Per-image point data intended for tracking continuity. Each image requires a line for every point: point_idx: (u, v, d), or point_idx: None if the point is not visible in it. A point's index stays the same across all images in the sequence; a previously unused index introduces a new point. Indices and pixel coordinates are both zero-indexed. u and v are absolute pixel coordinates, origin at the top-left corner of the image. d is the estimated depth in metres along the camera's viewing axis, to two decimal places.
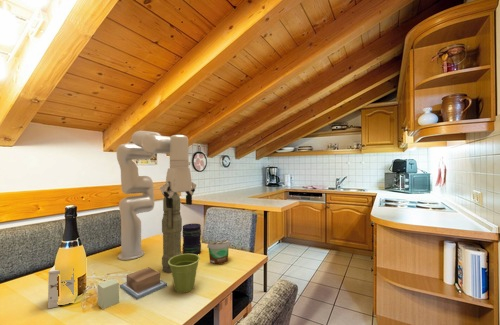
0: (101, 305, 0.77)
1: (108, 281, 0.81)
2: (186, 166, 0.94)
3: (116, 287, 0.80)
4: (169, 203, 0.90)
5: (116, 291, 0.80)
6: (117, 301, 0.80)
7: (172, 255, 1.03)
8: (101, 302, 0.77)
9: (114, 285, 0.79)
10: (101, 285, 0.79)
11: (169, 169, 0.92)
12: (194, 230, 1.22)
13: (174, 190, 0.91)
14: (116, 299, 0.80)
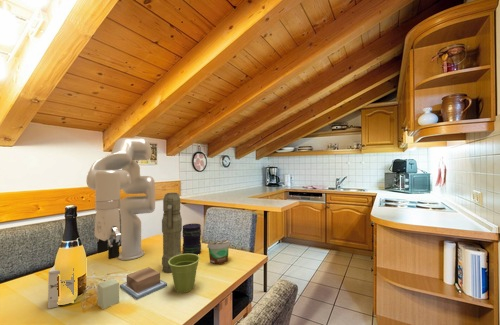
0: (101, 305, 0.77)
1: (108, 281, 0.81)
2: None
3: (116, 287, 0.80)
4: None
5: (116, 291, 0.80)
6: (117, 301, 0.80)
7: (172, 255, 1.03)
8: (101, 302, 0.77)
9: (114, 285, 0.79)
10: (101, 285, 0.79)
11: (112, 211, 0.77)
12: (194, 230, 1.22)
13: None
14: (116, 299, 0.80)
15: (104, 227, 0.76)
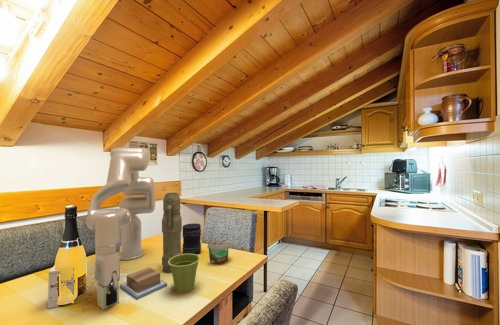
0: (101, 305, 0.77)
1: None
2: None
3: None
4: (115, 297, 0.79)
5: None
6: (117, 301, 0.80)
7: (172, 255, 1.03)
8: (101, 302, 0.77)
9: None
10: (101, 285, 0.79)
11: (112, 256, 0.77)
12: (194, 230, 1.22)
13: None
14: None
15: (104, 273, 0.76)
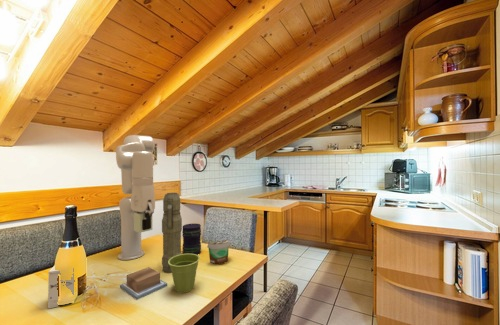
0: (138, 229, 0.89)
1: None
2: None
3: None
4: (149, 224, 0.90)
5: None
6: (151, 228, 0.91)
7: (172, 255, 1.03)
8: (138, 227, 0.89)
9: None
10: (137, 213, 0.90)
11: (147, 187, 0.88)
12: (194, 230, 1.22)
13: None
14: None
15: (141, 200, 0.87)
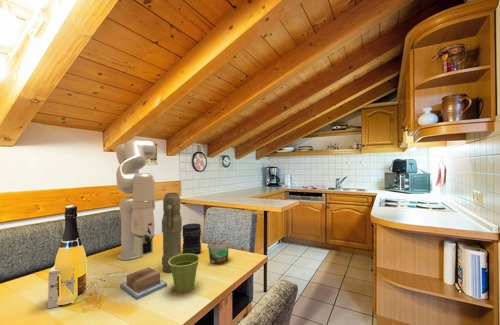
0: (138, 253, 0.88)
1: None
2: None
3: None
4: (150, 247, 0.89)
5: None
6: (151, 251, 0.91)
7: (172, 255, 1.03)
8: (138, 250, 0.88)
9: None
10: (138, 236, 0.89)
11: (148, 210, 0.88)
12: (194, 230, 1.22)
13: None
14: None
15: (142, 224, 0.87)
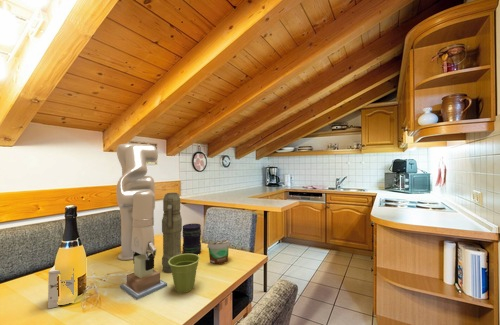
0: (138, 274, 0.88)
1: (143, 255, 0.92)
2: None
3: None
4: (152, 263, 0.88)
5: None
6: (151, 272, 0.91)
7: (172, 255, 1.03)
8: (138, 272, 0.88)
9: None
10: (138, 257, 0.89)
11: (148, 229, 0.88)
12: (194, 230, 1.22)
13: None
14: (150, 270, 0.91)
15: (142, 243, 0.87)
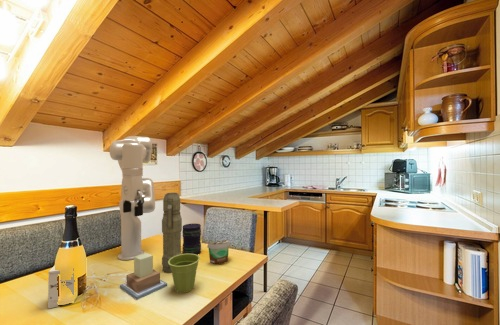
0: (138, 274, 0.88)
1: (143, 255, 0.92)
2: None
3: (151, 260, 0.91)
4: (141, 210, 0.93)
5: (150, 263, 0.91)
6: (151, 272, 0.91)
7: (172, 255, 1.03)
8: (138, 272, 0.88)
9: (149, 258, 0.90)
10: (138, 257, 0.89)
11: (137, 177, 0.92)
12: (194, 230, 1.22)
13: None
14: (150, 270, 0.91)
15: (131, 190, 0.91)
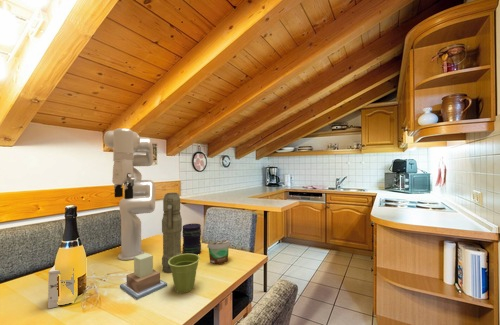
0: (138, 274, 0.88)
1: (143, 255, 0.92)
2: None
3: (151, 260, 0.91)
4: (131, 194, 0.95)
5: (150, 263, 0.91)
6: (151, 272, 0.91)
7: (172, 255, 1.03)
8: (138, 272, 0.88)
9: (149, 258, 0.90)
10: (138, 257, 0.89)
11: (127, 161, 0.95)
12: (194, 230, 1.22)
13: None
14: (150, 270, 0.91)
15: (121, 173, 0.94)
